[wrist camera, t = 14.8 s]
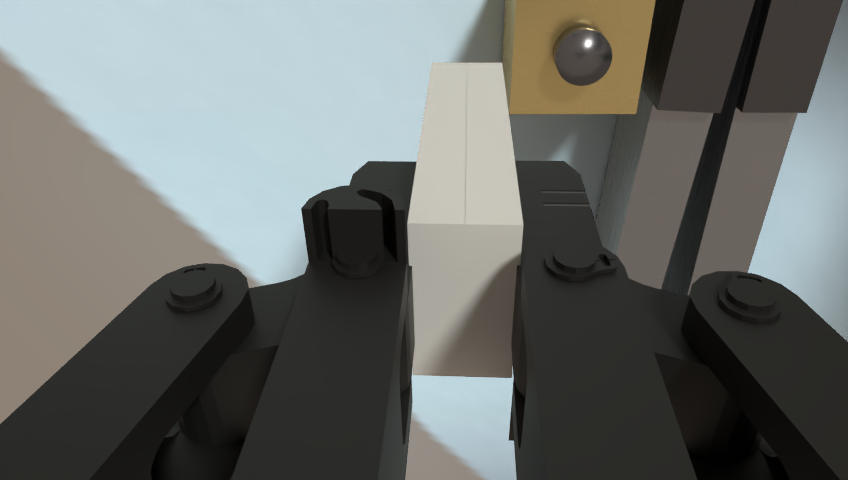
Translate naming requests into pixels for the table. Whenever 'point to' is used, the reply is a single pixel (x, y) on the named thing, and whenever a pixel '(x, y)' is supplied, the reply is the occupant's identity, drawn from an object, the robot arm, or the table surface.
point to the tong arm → (668, 130)
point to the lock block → (575, 55)
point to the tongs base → (750, 138)
